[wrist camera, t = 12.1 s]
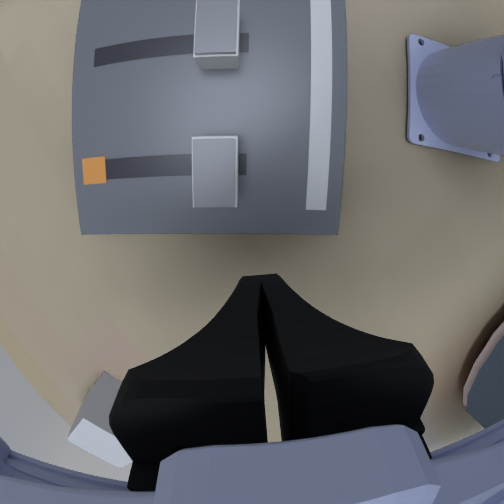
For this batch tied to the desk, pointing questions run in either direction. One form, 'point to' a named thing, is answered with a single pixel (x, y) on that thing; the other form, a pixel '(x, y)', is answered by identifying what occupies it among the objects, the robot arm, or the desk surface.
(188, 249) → the desk surface
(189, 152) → the panel
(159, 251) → the desk surface
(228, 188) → the block
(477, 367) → the desk lamp
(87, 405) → the grey cube
